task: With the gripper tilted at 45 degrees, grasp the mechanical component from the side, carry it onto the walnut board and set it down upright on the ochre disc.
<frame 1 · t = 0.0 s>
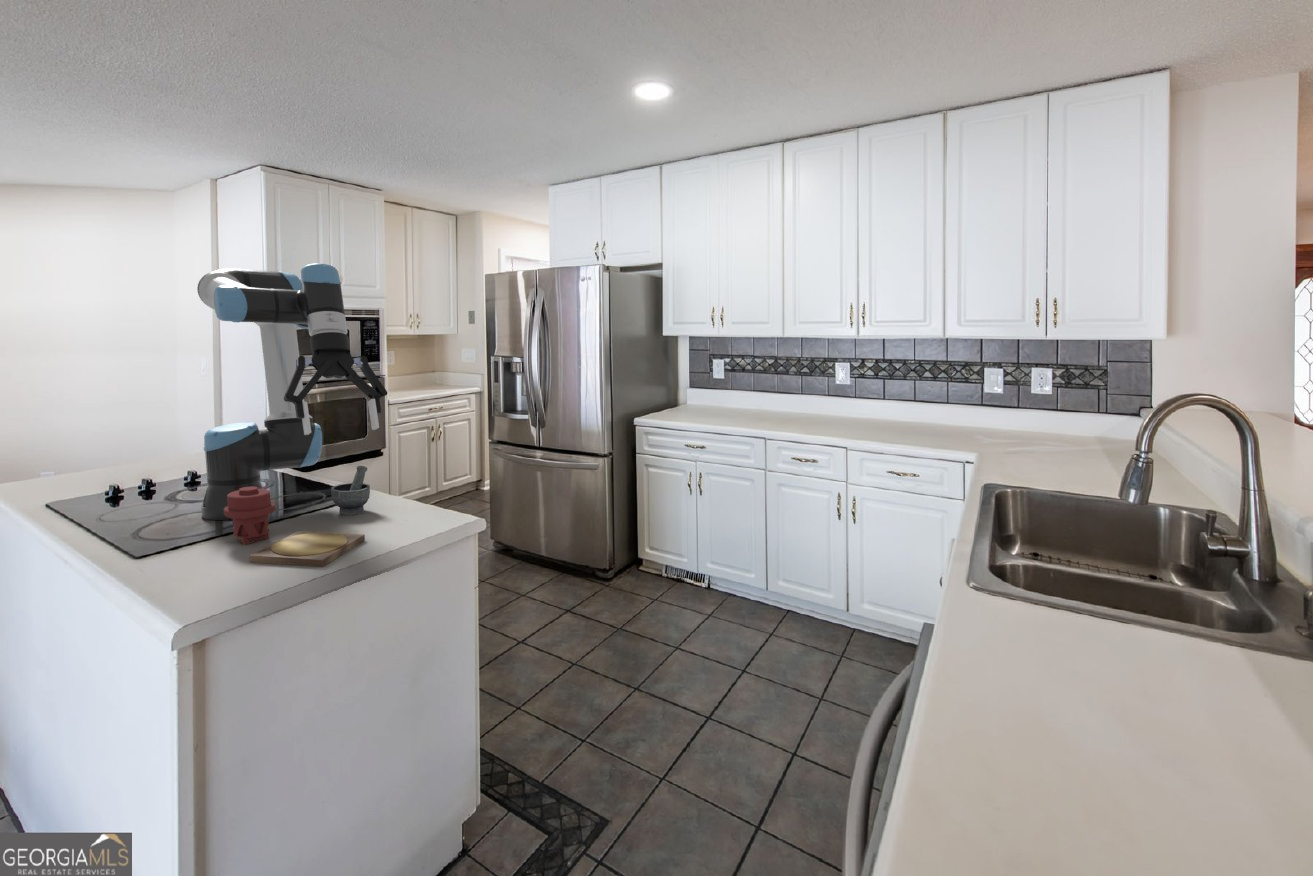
hand: (342, 431, 136), 28 cm above the countertop, tool tilted 20°, fingers open, 13 cm apart
mechanical component: (252, 540, 148), on the countertop
marked board: (310, 550, 142), on the countertop
mortar and pestle: (353, 511, 173), on the countertop
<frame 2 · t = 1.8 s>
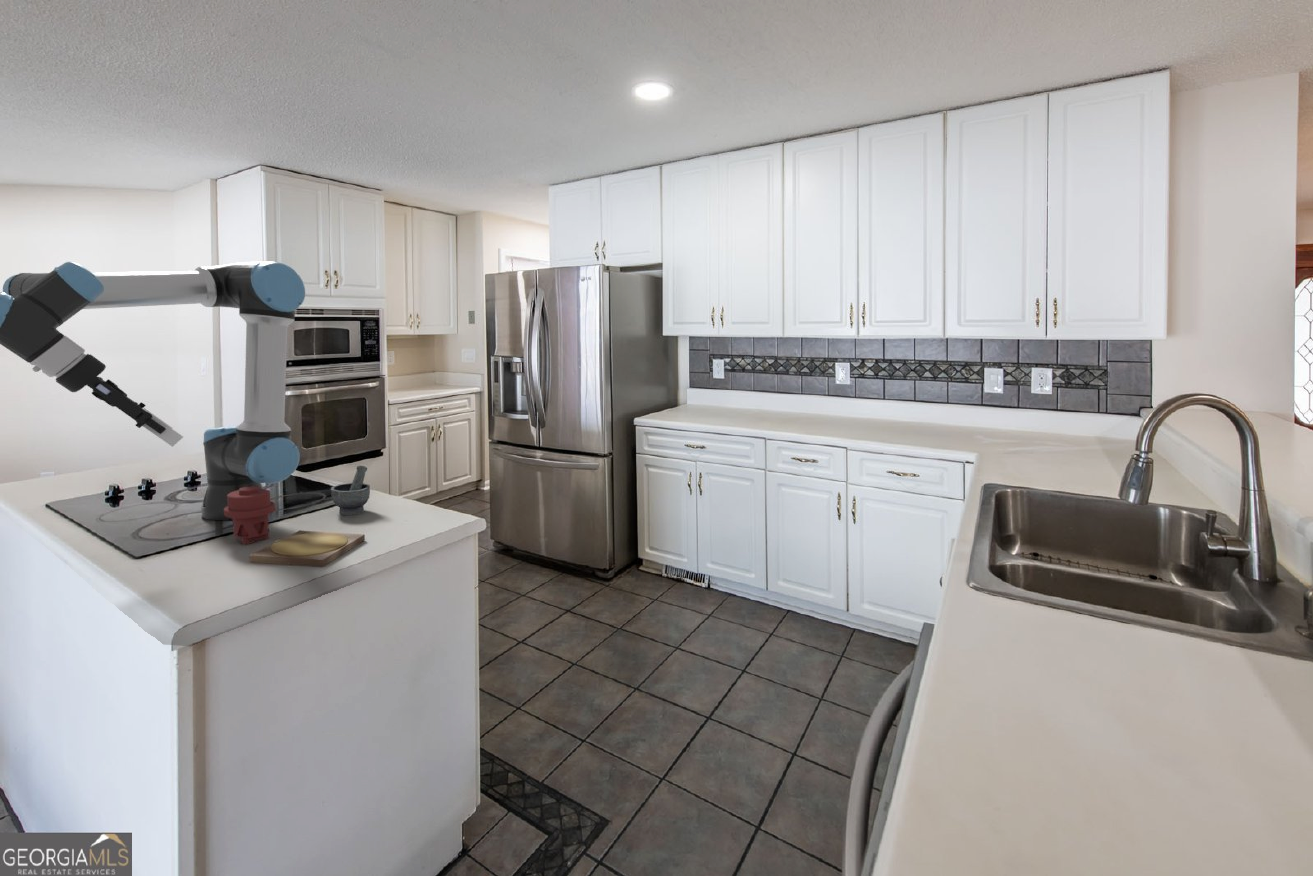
hand: (172, 437, 135), 25 cm above the countertop, tool tilted 45°, fingers open, 13 cm apart
nothing on the countertop moved.
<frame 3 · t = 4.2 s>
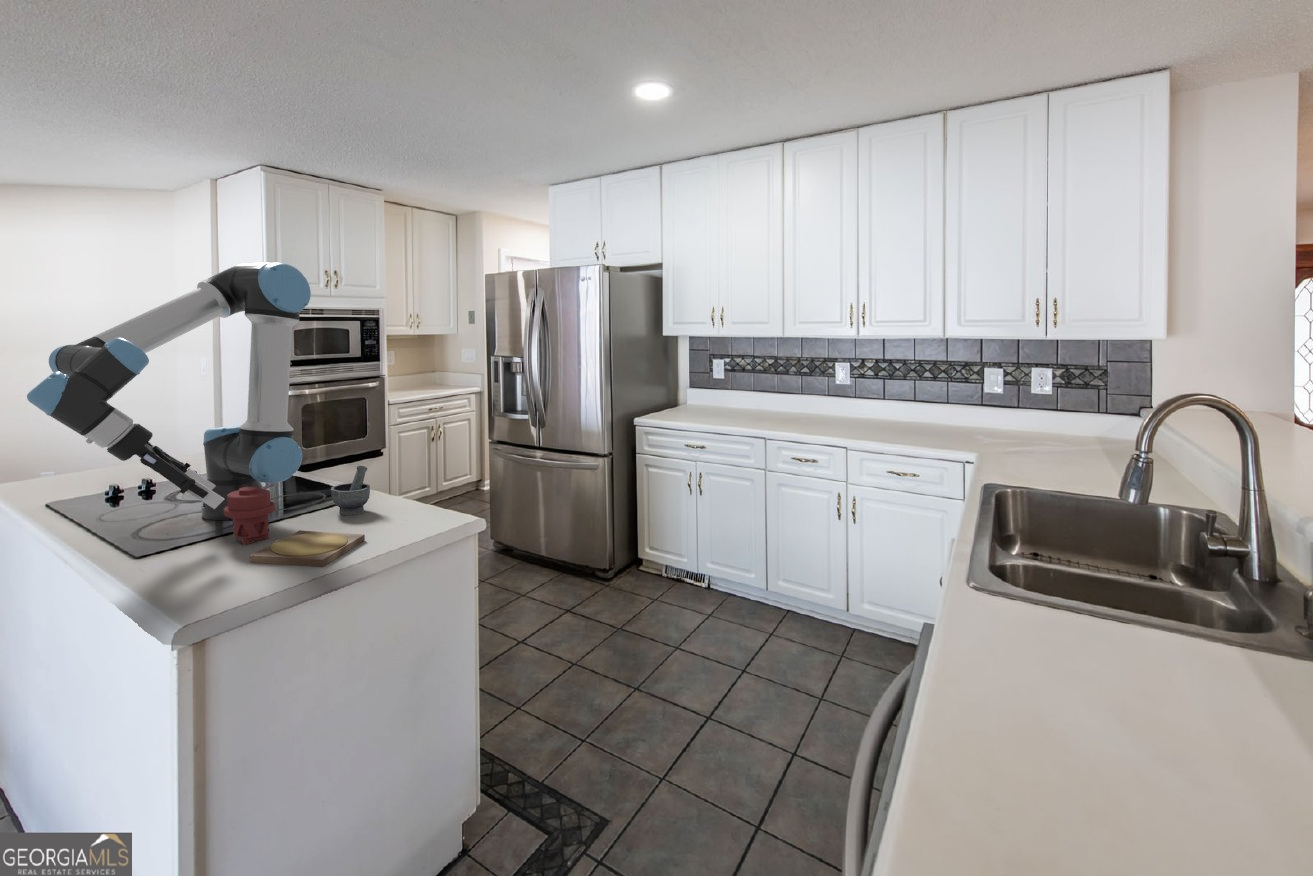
hand: (215, 496, 141), 11 cm above the countertop, tool tilted 45°, fingers open, 13 cm apart
nothing on the countertop moved.
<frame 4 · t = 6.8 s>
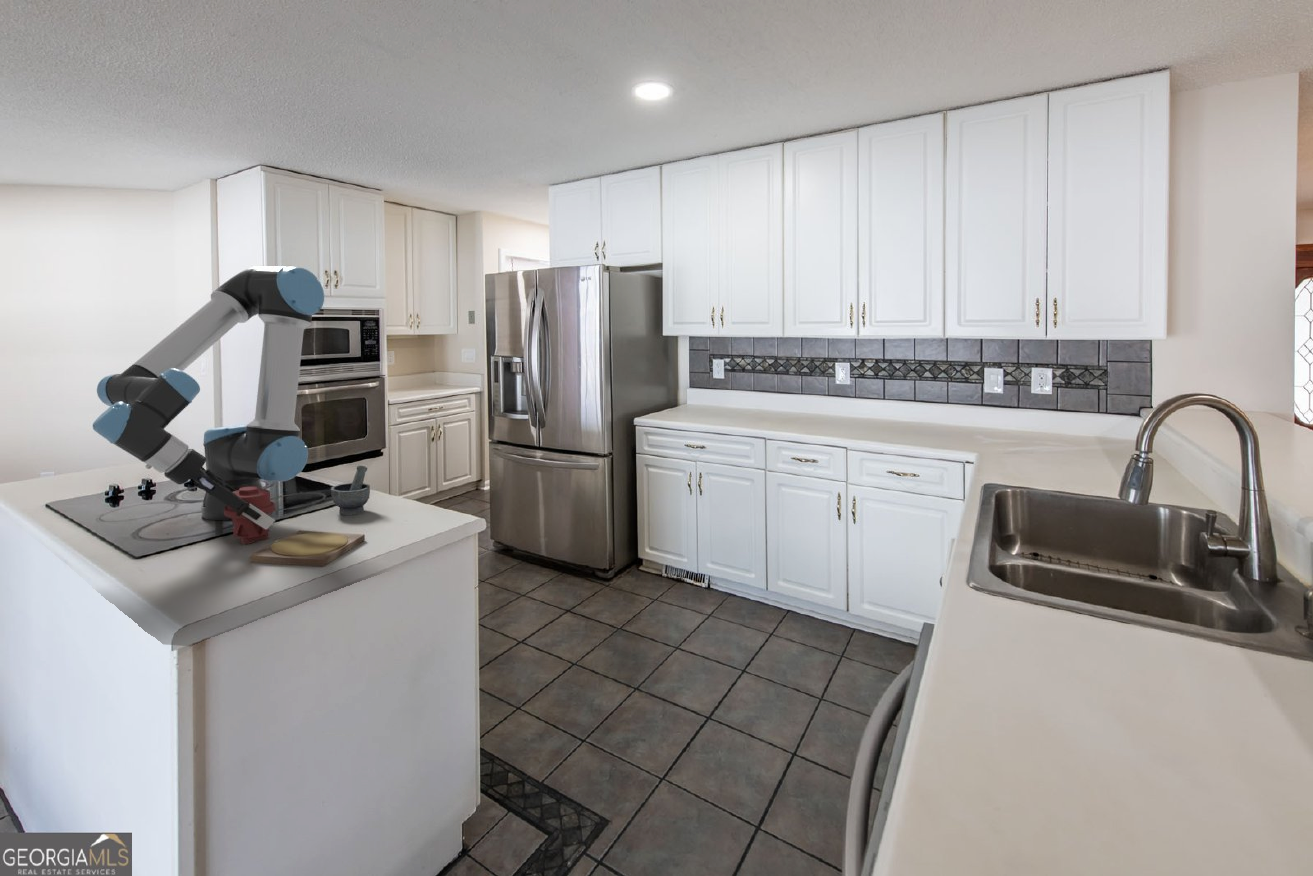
hand: (265, 519, 149), 4 cm above the countertop, tool tilted 45°, fingers closed on mechanical component, 10 cm apart
mechanical component: (252, 540, 148), on the countertop, touching gripper
everything else where it was.
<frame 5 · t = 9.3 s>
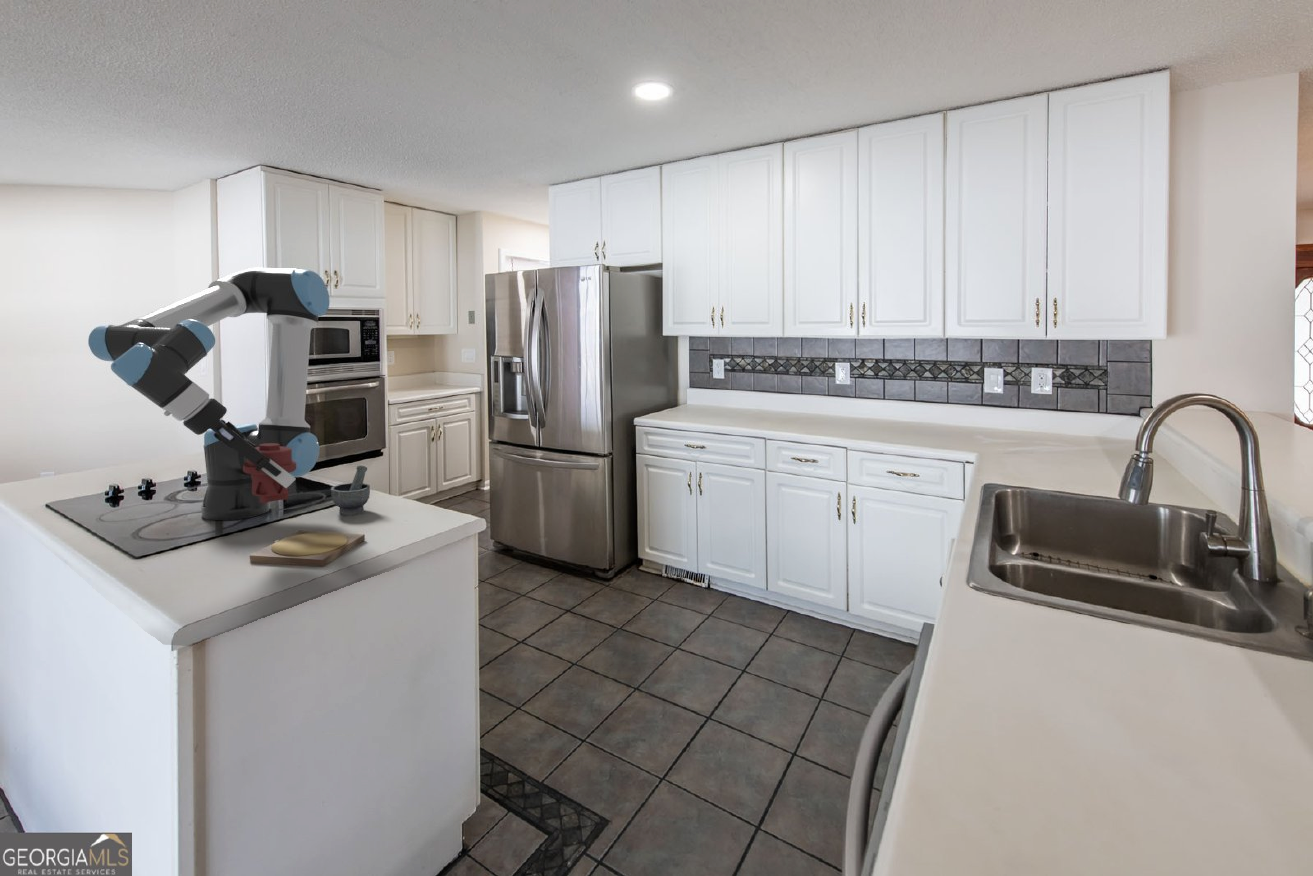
hand: (286, 478, 141), 16 cm above the countertop, tool tilted 45°, fingers closed on mechanical component, 10 cm apart
mechanical component: (271, 500, 140), point 11 cm above the countertop, touching gripper
everything else where it was.
when the fingers open (8 cm above the countertop, at t = 11.8 s): mechanical component drops 1 cm, resting on marked board.
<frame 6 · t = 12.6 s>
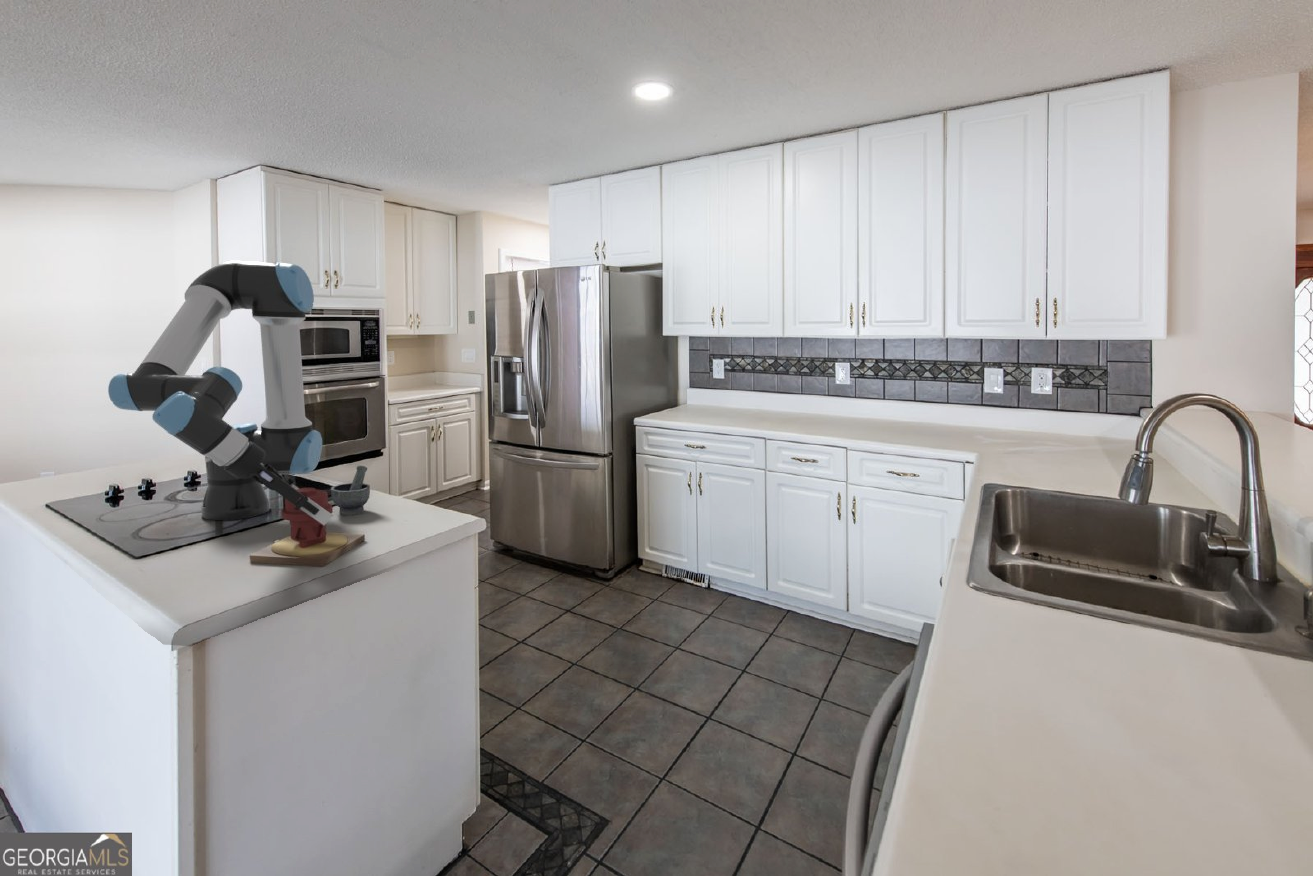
hand: (320, 512, 142), 8 cm above the countertop, tool tilted 45°, fingers open, 13 cm apart
mechanical component: (309, 543, 142), point 2 cm above the countertop, touching marked board
everything else where it was.
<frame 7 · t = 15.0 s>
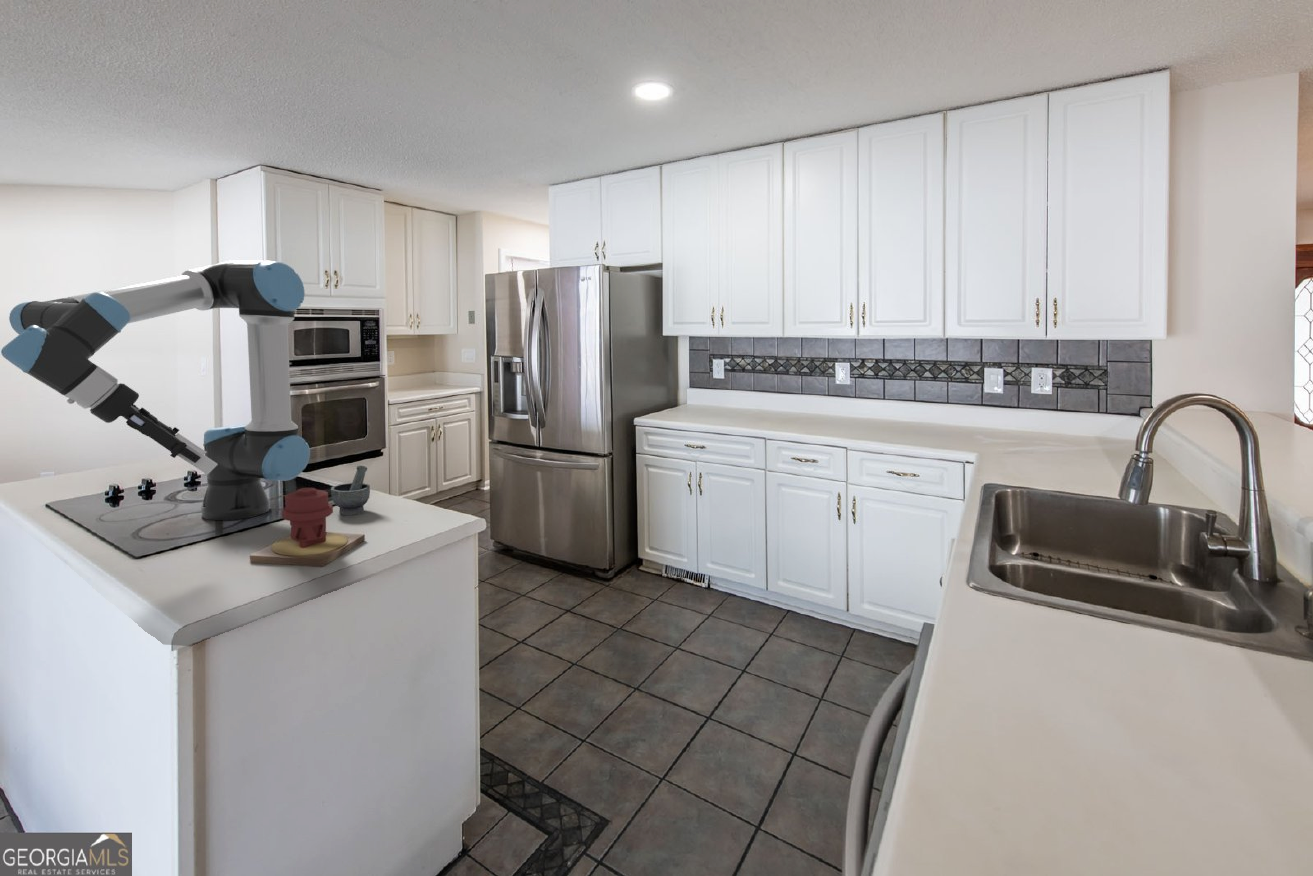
hand: (207, 462, 134), 21 cm above the countertop, tool tilted 45°, fingers open, 13 cm apart
nothing on the countertop moved.
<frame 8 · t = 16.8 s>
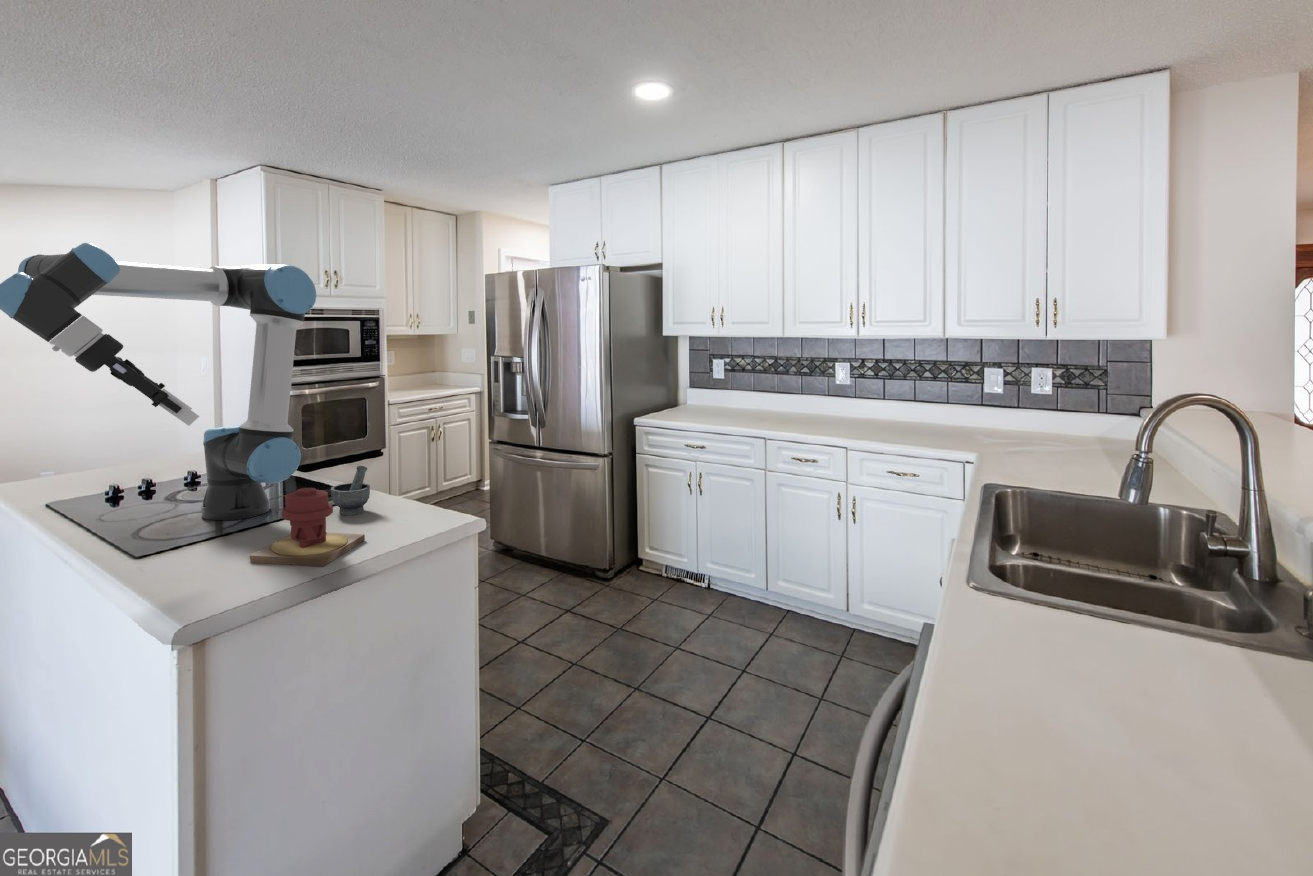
hand: (190, 416, 136), 30 cm above the countertop, tool tilted 45°, fingers open, 13 cm apart
nothing on the countertop moved.
at the end: mechanical component inside the target area on the marked board (0.2 cm from its centre), point 1.6 cm above the marked board's base; mechanical component tilted 0°; the gripper is holding nothing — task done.
